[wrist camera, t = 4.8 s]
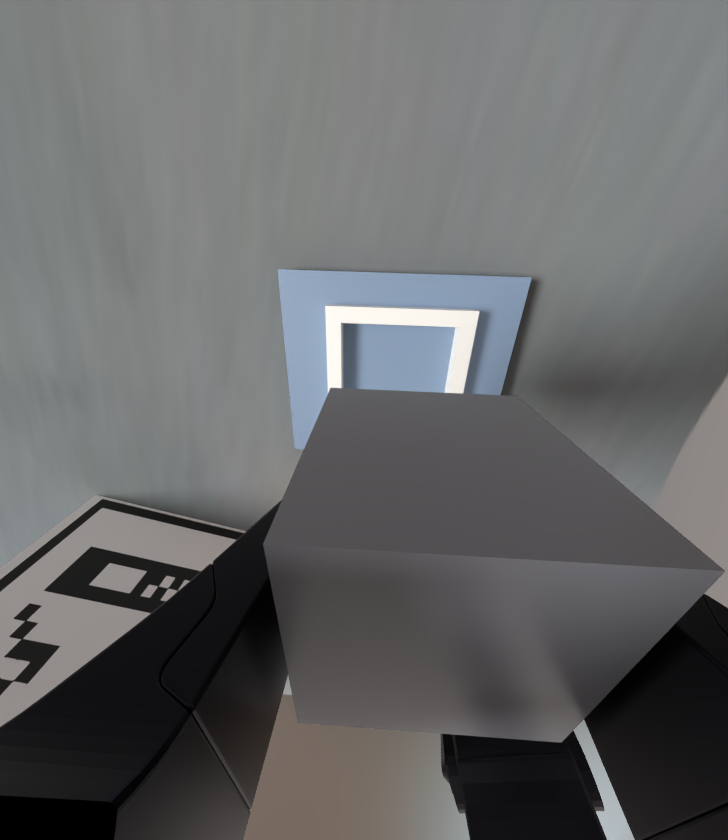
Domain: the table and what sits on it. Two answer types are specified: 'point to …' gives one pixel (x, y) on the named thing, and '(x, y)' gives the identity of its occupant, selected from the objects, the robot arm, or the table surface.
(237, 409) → the table surface
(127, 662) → the robot arm
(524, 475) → the charcoal cube
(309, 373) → the board
